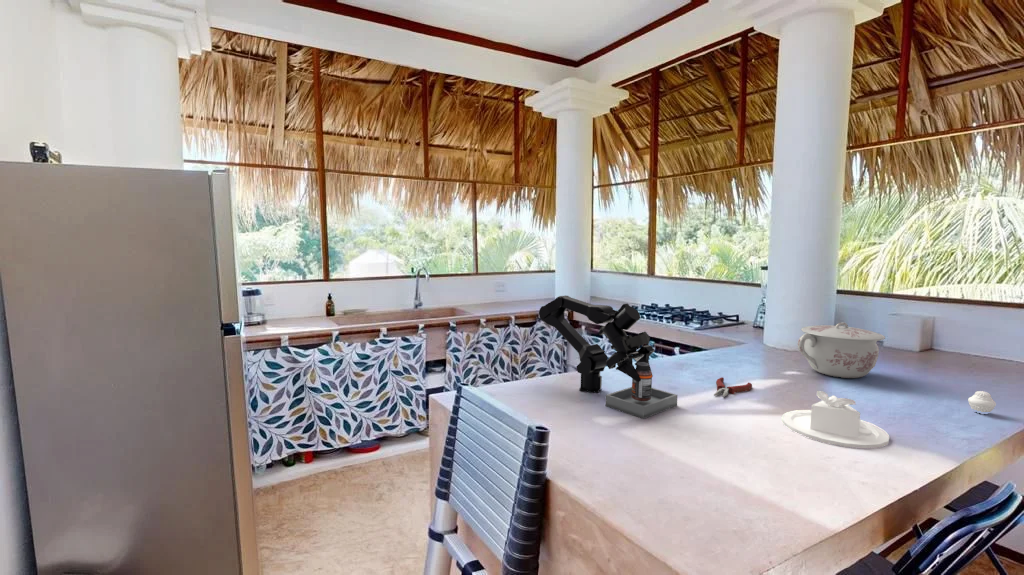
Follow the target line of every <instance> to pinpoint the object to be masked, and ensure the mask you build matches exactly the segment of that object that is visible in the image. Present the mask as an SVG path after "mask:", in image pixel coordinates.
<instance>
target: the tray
mask: <svg viewBox="0 0 1024 575" xmlns="http://www.w3.org/2000/svg"><path fill="white" fill-rule="evenodd" d="M674 406H675V407H677V406H678V394H676V393H672V392H668V391H666V390H661V389H657V388H654V387H651V399H650V400H648V401H638V400H635V399H633V398H632V386H630V387H627V388H623V389H620V390H618V391H614V392H611V393H608V394H605V407H608V408H610V409H613V408H614V410H616V409H617V411H619V410H620V411H619V412H622V411H623V413H625V414H628V415H631V416H634V417H638V418H639V417H640V419H642V418H643V419H646V417H647V418H649V417H652V416H654V414H655V415H656V413H657V414H659V412H660V413H662V412H665V411H667V410H670V409H672V408H675V407H674ZM669 408H670V409H669ZM666 409H667V410H666ZM664 410H665V411H664ZM661 411H662V412H661ZM651 415H652V416H651Z"/></svg>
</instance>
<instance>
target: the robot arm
mask: <svg viewBox="0 0 1024 575" xmlns="http://www.w3.org/2000/svg"><path fill="white" fill-rule="evenodd" d="M567 310H568V311H572V312H574V313H577V314H580V315H583V316H584V317H585V316H586V318H587V319H588V320H589V321H591V322H592V323H593V324H596V325H601V324H605V325H603V326H600V327H599V330H598V335H599V336H602V335H605V336H606V337H607V339H608V340H609V342H610V343H611V345H610V349H611V350H615V352H613V353H612V354H611V356H610V357H608V356H607V354H606V350H604V349H602V347H601V346H600V345H599V344H598V343H596V344H595V343H594V344H590V343H589V342H588V341H587V340H586V339H585V338H584V337H582V336H583V335H581V334H580V333H579V332H578V330H576V329H575V328H574V326H573V325H571V323H570V322H569V321H568V320H567V319H566V317H565V312H566V311H567ZM538 316H539V319H540V321H542V322H544V323H545V324H546V325H549V327H553V328H555V329H556V331H557V332H558V333H560V335H561V336H562V337H563V338H564V339H565V340H566V341H567V342H568V343H569V344H570V346H571V347H572V348H573V349H575V351H576V352H577V353H578V355H579V361H580V362H579V363H578V364H577V366H576V371H577V373H579V374H580V387H579V389H578V390H579V391H582V392H589V393H599V391H600V390H601V389H602V385H603V384H602V381H603V380H602V378H603V377H602V376H601V372H604V370H605V368H606V366H607V368H608V370H611V369H615V370H616V371H619V372H621V373H623V374H625V375H627V376H628V377H629V378H631V379H632V378H633V379H634V380H636V381H637V382H640V381H641V379H640V377H639V375H638V373H637V371H636V367H635V366H636V363H638V362H645V363H648V364H649V370H650V371H651V372H652V369H651V366H650V361H649V360H650V357H651V355H652V354H653V353H654V352H655V351H656V350H655V348H653V346H652V345H649V344H650V340H651V336H650V335H649V334H648V333H647V331H641V332H638V335H635V336H632V335H631V334H628V335H627V333H626V331H628V330H629V329H630V328H632V327H633V326H634V325H635V324H636V323H637V322H638V321H639V320H640V319H641V314H640V312H639V311H638V310H637V309H635V308H634V307H633V306H631V305H630V304H629V303H623V304H622V305H621V306H620V308H619V309H618V310H615V309H614V308H613V307H612V306H610V305H604V304H592V303H590V302H586V301H583V300H579V299H576V298H575V297H571V296H569V295H559V296H557V297H556V298H554V300H552V301H550V302H548V303H546V304H545V305H543V306H540V308H539V311H538ZM633 359H634V360H635V361H636V362H635V363H634V362H633ZM634 365H635V366H634ZM653 377H654V375H653V374H652V378H653Z"/></svg>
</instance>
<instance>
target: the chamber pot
mask: <svg viewBox="0 0 1024 575" xmlns="http://www.w3.org/2000/svg"><path fill="white" fill-rule="evenodd" d="M800 330H801V331H802V332H803V334H802V335H801V336H799V338H798V340H797V349H798V352H800V354H801V356H803V357H804V358H805V359H806V361H807V362H808V364H809V366H810V367H811V368H812V369H813V370H814V371H815V372H818V373H820V374H822V375H824V374H825V376H828V377H832V376H833V378H838V377H841V379H858V378H863V377H865V376H867V375H868V374H869V373H870V372H871V371H872V370H873V369H874V368H875V366H876V364H877V361H878V359H879V351H880V350H879V349H880V348H879V346H878V344H877V342H878V341H883V340H885V339H886V336H885V335H883V334H881V333H879V332H878V333H877V332H875V331H872V330H868V329H863V328H858V327H851V326H849V325H848V323H847V322H845V321H844V322H839V323H837V324H836V325H831V324H830V325H825V324H823V325H821V324H818V325H809V326H808V325H807V326H802V328H801V329H800Z"/></svg>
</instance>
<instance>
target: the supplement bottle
mask: <svg viewBox="0 0 1024 575" xmlns="http://www.w3.org/2000/svg"><path fill="white" fill-rule="evenodd" d="M635 363H636V362H635ZM649 365H650V363H649V364H648V363H645V362H638V363H636V365H635V369H636V371H637V373H638V375H639V377H640V379H641V381H640V382H637V381H636V380H634V379H633V378H631V380H632V381H631V387H632V398H633V399H635V400H638V401H648V400H650V399H651V388H653V386H652V385H653V377H652V375H653V372H652V370H651V371H650V370H649Z"/></svg>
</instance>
